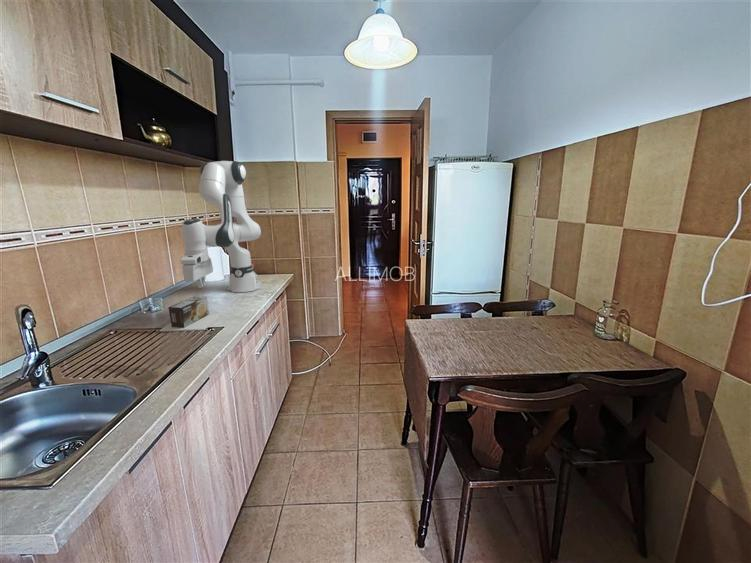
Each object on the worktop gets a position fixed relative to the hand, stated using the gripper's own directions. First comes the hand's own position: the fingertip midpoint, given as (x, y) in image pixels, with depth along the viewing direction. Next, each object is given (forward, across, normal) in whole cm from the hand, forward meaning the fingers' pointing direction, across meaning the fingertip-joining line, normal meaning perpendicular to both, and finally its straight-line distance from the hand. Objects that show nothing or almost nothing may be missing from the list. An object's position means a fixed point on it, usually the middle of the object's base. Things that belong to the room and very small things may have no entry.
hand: (201, 286), depth 152 cm
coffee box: (+9, -1, -1) cm, 9 cm away
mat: (+14, +10, -2) cm, 17 cm away
